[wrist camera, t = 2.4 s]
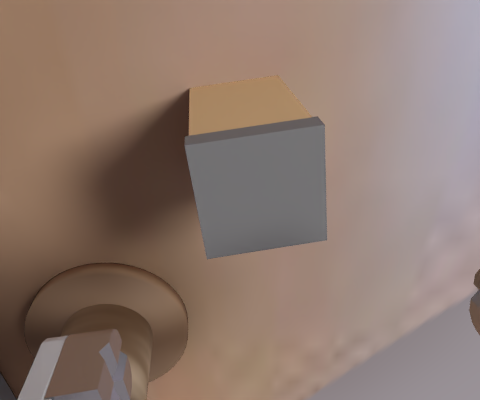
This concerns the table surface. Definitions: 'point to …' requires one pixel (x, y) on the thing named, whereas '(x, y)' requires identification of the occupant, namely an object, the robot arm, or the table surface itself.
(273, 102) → the grey and tan block
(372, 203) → the table surface
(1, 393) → the grey channel bracket
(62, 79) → the table surface
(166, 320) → the door knob
